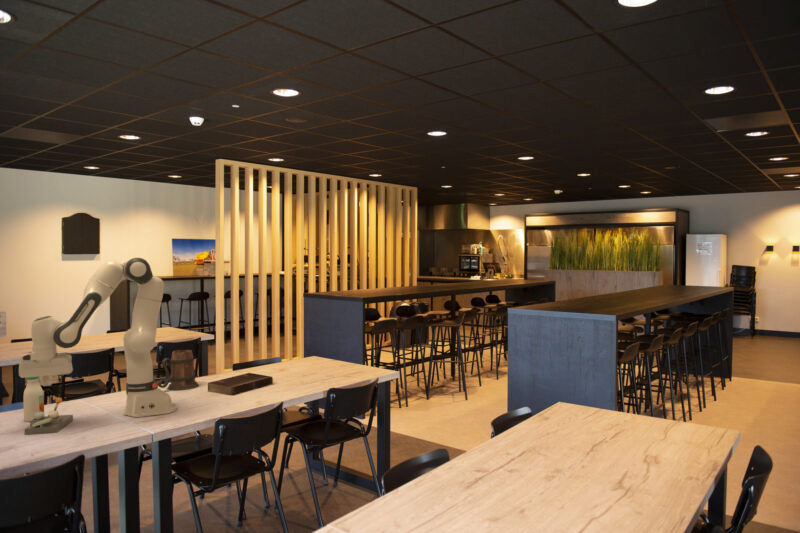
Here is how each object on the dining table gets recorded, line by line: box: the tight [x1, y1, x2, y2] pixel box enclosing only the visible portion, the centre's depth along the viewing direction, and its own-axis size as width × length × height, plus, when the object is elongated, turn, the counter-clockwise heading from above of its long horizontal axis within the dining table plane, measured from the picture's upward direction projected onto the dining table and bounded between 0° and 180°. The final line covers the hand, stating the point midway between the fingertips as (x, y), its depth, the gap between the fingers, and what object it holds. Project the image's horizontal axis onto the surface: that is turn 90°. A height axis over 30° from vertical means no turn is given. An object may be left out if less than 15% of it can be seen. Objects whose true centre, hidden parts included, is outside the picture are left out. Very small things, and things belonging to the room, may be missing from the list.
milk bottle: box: [22, 376, 45, 422], centre depth 255 cm, size 8×8×20 cm
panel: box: [24, 412, 74, 436], centre depth 242 cm, size 12×18×4 cm, turn 11°
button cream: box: [48, 410, 59, 418], centre depth 240 cm, size 3×3×2 cm
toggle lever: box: [53, 397, 63, 411], centre depth 246 cm, size 3×3×7 cm
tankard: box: [157, 349, 200, 392], centre depth 310 cm, size 24×17×20 cm
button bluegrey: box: [35, 411, 45, 420], centre depth 239 cm, size 3×3×2 cm
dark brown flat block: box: [207, 372, 274, 397], centre depth 309 cm, size 29×19×5 cm, turn 147°
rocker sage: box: [32, 418, 52, 427], centre depth 235 cm, size 6×3×1 cm, turn 101°
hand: (47, 385), depth 246 cm, fingers closed
